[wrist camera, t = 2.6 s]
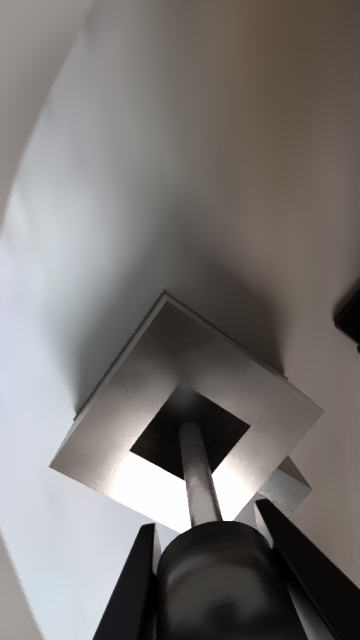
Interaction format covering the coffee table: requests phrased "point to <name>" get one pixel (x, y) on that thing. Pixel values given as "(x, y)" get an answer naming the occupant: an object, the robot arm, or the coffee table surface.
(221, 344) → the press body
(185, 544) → the plunger
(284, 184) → the coffee table surface
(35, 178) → the coffee table surface
